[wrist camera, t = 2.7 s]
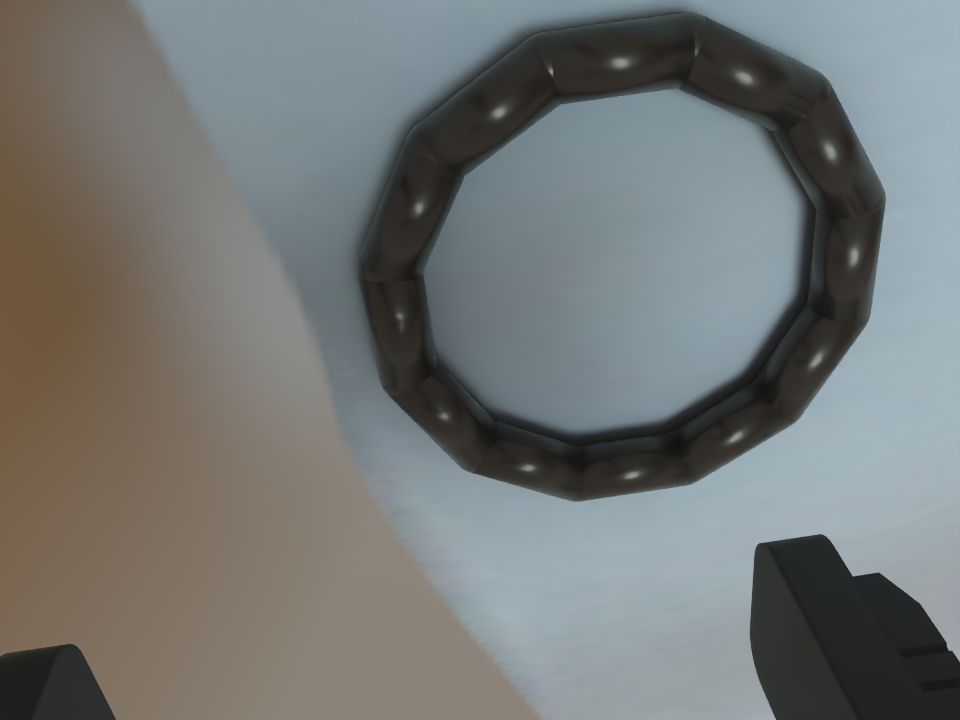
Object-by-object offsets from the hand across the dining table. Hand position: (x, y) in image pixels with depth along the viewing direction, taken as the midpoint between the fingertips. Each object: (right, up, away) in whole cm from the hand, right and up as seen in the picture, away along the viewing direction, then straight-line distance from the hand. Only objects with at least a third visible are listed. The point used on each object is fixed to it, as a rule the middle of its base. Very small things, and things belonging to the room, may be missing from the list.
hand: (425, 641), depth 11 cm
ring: (+3, +5, +7) cm, 9 cm away
